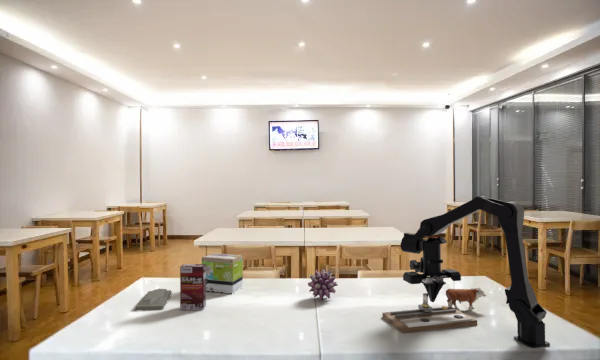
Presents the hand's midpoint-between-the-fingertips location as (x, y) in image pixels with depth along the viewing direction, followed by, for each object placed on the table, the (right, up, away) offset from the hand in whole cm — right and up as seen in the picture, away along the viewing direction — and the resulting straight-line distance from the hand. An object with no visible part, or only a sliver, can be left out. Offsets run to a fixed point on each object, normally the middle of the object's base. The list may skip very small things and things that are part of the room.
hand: (432, 301), depth 129 cm
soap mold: (-101, -7, +20) cm, 104 cm away
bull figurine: (+14, -5, +7) cm, 17 cm away
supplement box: (-84, -6, +12) cm, 85 cm away
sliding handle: (-2, -3, -1) cm, 4 cm away
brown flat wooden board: (-3, -5, -4) cm, 7 cm away
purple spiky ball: (-36, -6, +20) cm, 42 cm away
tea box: (-78, -6, +35) cm, 86 cm away
